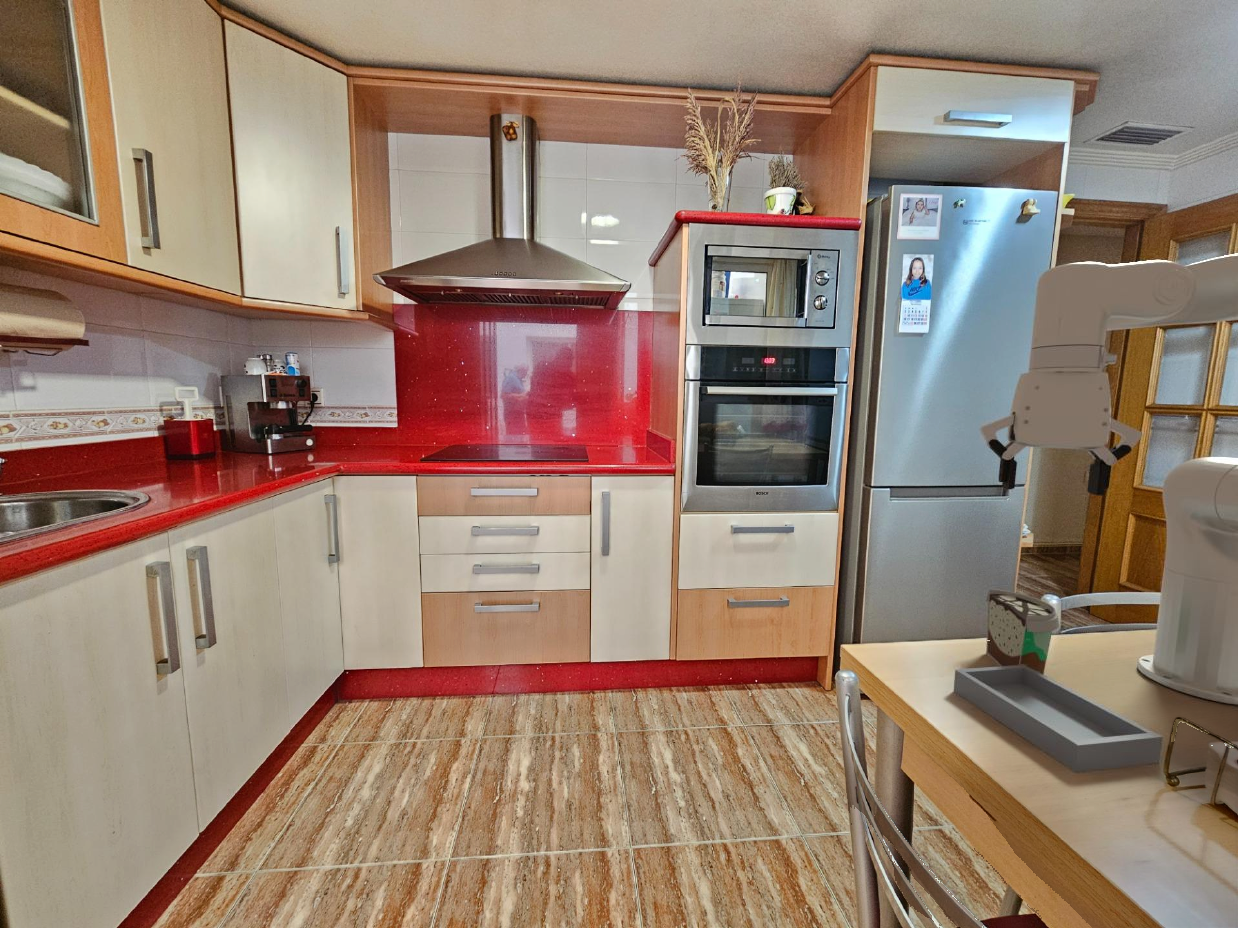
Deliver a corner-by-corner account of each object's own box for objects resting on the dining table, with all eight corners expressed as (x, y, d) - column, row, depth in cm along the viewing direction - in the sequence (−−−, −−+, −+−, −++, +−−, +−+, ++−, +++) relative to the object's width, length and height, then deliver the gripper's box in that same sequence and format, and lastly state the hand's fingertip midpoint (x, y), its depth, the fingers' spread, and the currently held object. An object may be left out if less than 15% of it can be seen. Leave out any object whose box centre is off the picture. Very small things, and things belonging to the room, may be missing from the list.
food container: (1074, 692, 73) (1081, 621, 72) (1022, 687, 74) (1029, 616, 73) (1025, 652, 85) (1031, 590, 84) (982, 648, 86) (987, 587, 85)
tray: (1022, 685, 75) (1023, 664, 74) (1159, 762, 58) (1162, 736, 58) (953, 690, 73) (955, 669, 73) (1075, 772, 57) (1078, 745, 56)
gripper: (1134, 365, 72) (1118, 493, 74) (981, 365, 78) (969, 483, 80) (1165, 359, 65) (1147, 501, 67) (994, 360, 71) (981, 489, 73)
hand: (1050, 491), depth 73 cm, fingers open, 9 cm apart
